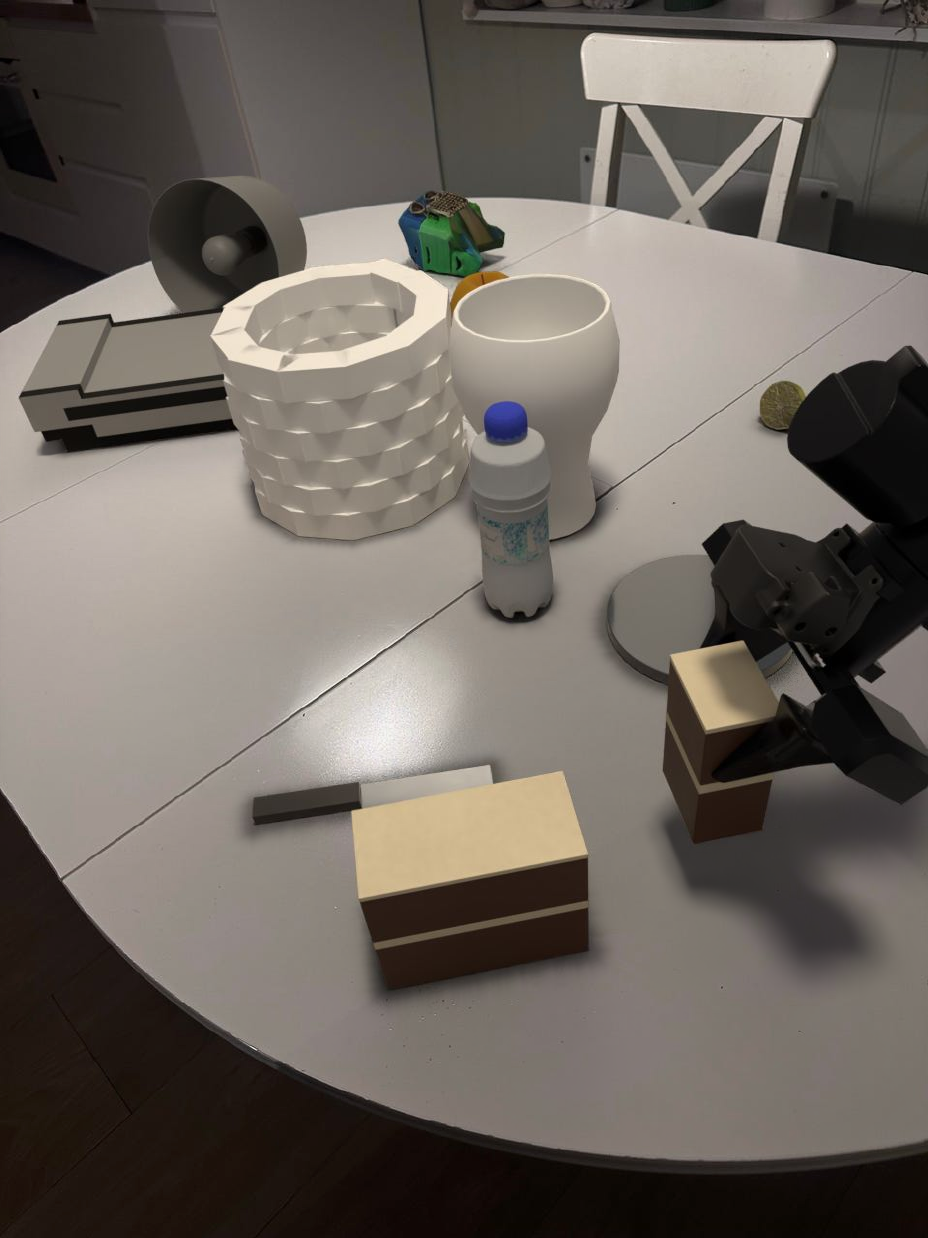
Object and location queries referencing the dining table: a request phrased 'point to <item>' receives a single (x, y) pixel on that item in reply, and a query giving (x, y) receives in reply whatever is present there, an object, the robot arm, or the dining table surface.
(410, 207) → the sculpture
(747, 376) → the dining table surface
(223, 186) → the light fixture
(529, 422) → the white vase
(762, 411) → the lime
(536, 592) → the bottle
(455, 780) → the cake knife
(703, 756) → the cake slice
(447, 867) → the cake
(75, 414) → the game console
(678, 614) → the plate
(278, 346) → the basket
